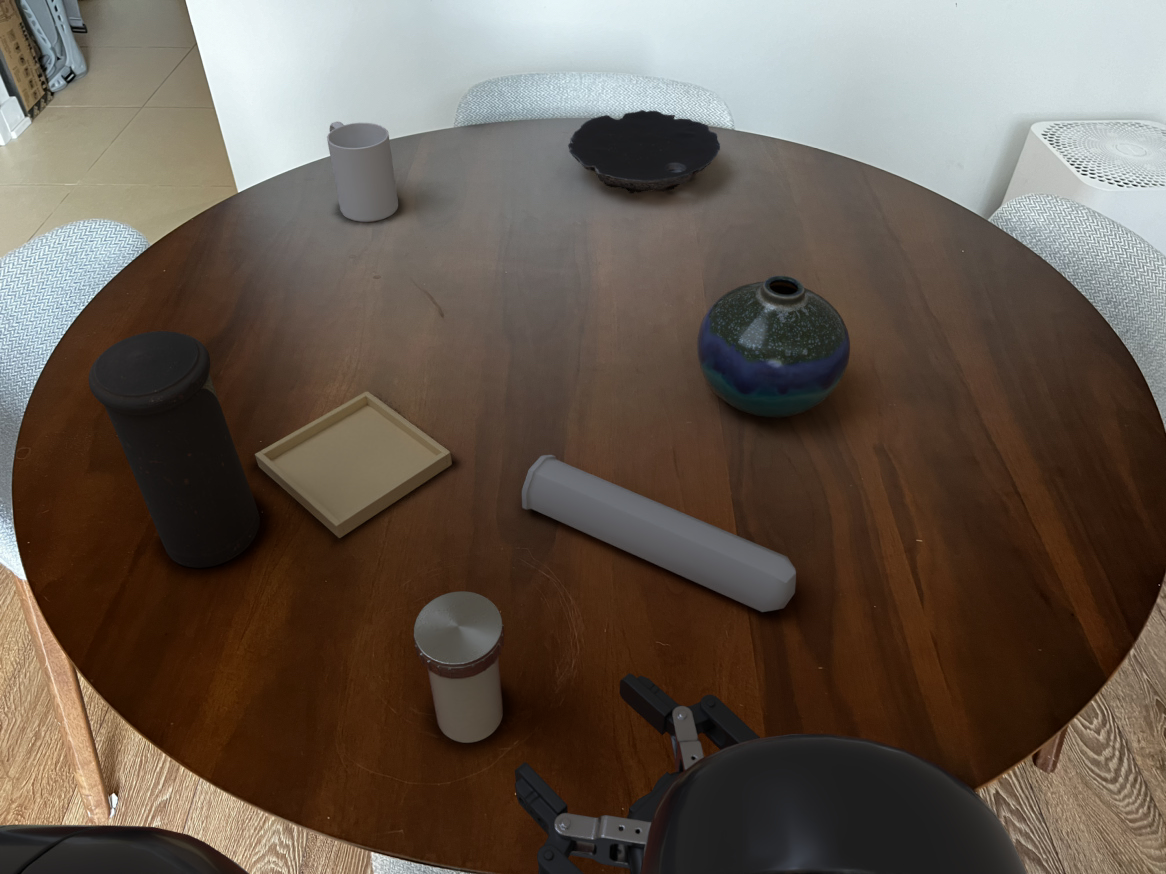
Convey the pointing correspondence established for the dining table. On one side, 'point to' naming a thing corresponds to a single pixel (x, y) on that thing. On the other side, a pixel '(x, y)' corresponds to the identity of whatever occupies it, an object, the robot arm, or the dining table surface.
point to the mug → (363, 171)
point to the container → (178, 445)
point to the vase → (773, 348)
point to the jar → (468, 704)
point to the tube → (660, 534)
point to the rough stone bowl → (644, 150)
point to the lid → (458, 635)
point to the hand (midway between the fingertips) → (573, 726)
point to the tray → (353, 462)
